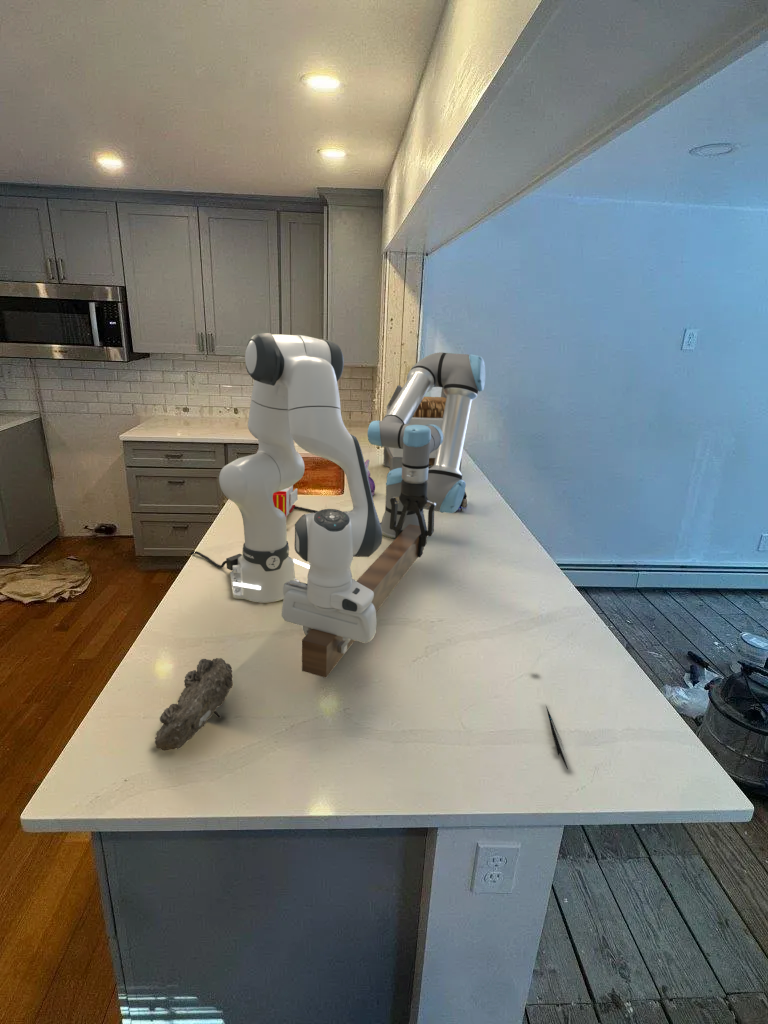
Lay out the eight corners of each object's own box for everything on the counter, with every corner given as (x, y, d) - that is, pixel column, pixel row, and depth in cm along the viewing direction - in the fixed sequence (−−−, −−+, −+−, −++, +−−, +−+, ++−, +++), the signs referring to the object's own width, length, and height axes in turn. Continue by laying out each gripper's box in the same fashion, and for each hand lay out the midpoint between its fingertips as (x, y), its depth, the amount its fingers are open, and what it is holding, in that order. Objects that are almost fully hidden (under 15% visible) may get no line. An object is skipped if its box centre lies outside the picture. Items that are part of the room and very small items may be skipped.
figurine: (360, 499, 233) (361, 464, 228) (349, 492, 242) (350, 458, 237) (380, 497, 237) (381, 462, 232) (369, 490, 246) (370, 456, 241)
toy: (299, 479, 223) (289, 492, 194) (299, 512, 226) (289, 530, 197) (268, 478, 223) (253, 491, 193) (268, 512, 225) (254, 529, 196)
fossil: (182, 659, 118) (233, 627, 113) (214, 689, 120) (265, 659, 115) (130, 744, 98) (189, 710, 93) (170, 778, 101) (229, 746, 96)
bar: (407, 546, 177) (408, 524, 174) (424, 549, 175) (426, 527, 172) (301, 671, 115) (301, 639, 113) (326, 678, 114) (326, 646, 111)
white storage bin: (382, 463, 289) (386, 382, 275) (445, 464, 293) (451, 384, 279) (390, 482, 257) (394, 392, 243) (460, 483, 261) (468, 394, 247)
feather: (536, 679, 125) (541, 673, 125) (567, 774, 99) (575, 766, 98) (529, 675, 125) (535, 669, 124) (559, 769, 98) (567, 762, 98)
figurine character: (467, 516, 223) (461, 500, 237) (469, 499, 220) (463, 483, 233) (450, 516, 223) (446, 499, 236) (452, 498, 220) (447, 483, 233)
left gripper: (275, 584, 114) (276, 642, 119) (370, 608, 108) (366, 668, 113) (291, 571, 120) (290, 627, 125) (381, 593, 114) (377, 651, 119)
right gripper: (379, 479, 162) (376, 552, 170) (443, 488, 156) (437, 564, 164) (388, 472, 168) (385, 543, 176) (449, 480, 163) (443, 554, 171)
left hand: (327, 647), depth 119 cm, fingers closed on bar, 5 cm apart
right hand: (410, 553), depth 170 cm, fingers closed on bar, 6 cm apart
